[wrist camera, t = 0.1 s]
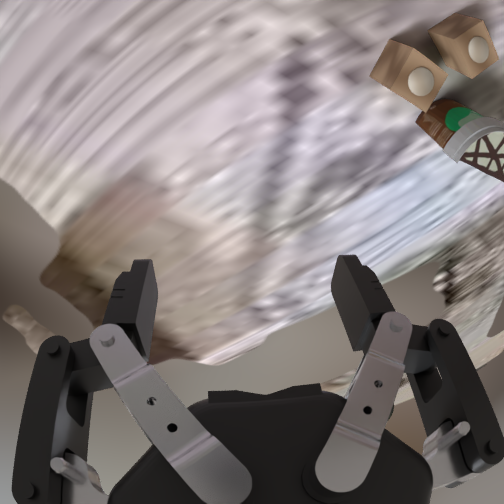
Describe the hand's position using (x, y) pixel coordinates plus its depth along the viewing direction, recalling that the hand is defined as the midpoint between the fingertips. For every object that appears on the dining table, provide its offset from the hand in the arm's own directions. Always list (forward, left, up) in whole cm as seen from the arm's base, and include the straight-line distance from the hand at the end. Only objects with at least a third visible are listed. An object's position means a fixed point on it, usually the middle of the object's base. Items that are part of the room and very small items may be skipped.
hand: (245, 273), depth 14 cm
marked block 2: (-22, +15, -23) cm, 35 cm away
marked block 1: (-14, +13, -23) cm, 29 cm away
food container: (-15, +23, -23) cm, 35 cm away
